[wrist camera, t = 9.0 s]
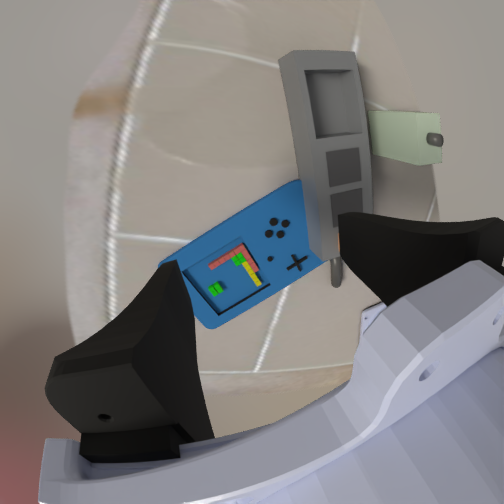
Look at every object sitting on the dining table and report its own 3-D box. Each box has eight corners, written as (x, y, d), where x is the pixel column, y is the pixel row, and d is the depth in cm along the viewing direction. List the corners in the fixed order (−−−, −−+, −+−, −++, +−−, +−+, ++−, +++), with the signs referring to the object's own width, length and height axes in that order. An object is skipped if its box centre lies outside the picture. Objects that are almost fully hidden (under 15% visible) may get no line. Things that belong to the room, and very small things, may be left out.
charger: (395, 151, 22) (451, 165, 16) (372, 154, 22) (428, 168, 16) (391, 110, 21) (448, 114, 15) (367, 111, 20) (425, 113, 14)
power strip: (354, 276, 27) (374, 294, 24) (311, 292, 27) (328, 313, 23) (334, 58, 18) (359, 50, 15) (278, 59, 17) (296, 48, 14)
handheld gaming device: (348, 249, 25) (210, 334, 25) (342, 244, 26) (208, 326, 26) (316, 170, 21) (153, 270, 21) (310, 168, 22) (154, 264, 22)
